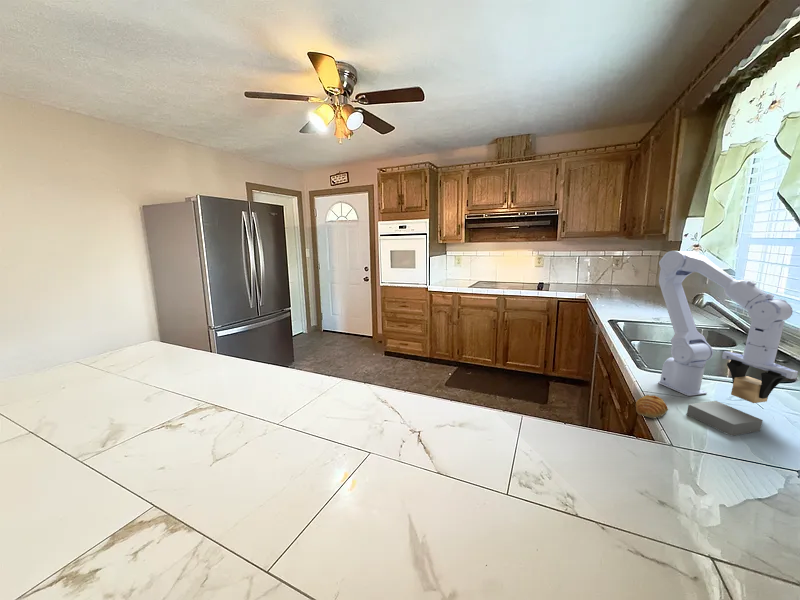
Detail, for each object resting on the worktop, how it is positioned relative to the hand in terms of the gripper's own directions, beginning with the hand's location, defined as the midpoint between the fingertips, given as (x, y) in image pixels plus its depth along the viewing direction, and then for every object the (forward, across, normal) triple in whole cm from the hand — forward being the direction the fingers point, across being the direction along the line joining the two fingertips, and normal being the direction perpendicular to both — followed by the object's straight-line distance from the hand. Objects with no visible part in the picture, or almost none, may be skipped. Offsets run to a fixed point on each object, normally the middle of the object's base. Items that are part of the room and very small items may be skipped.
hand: (749, 392), depth 89 cm
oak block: (+2, 0, 0) cm, 2 cm away
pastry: (+7, +6, +25) cm, 27 cm away
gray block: (+6, -2, +12) cm, 14 cm away
